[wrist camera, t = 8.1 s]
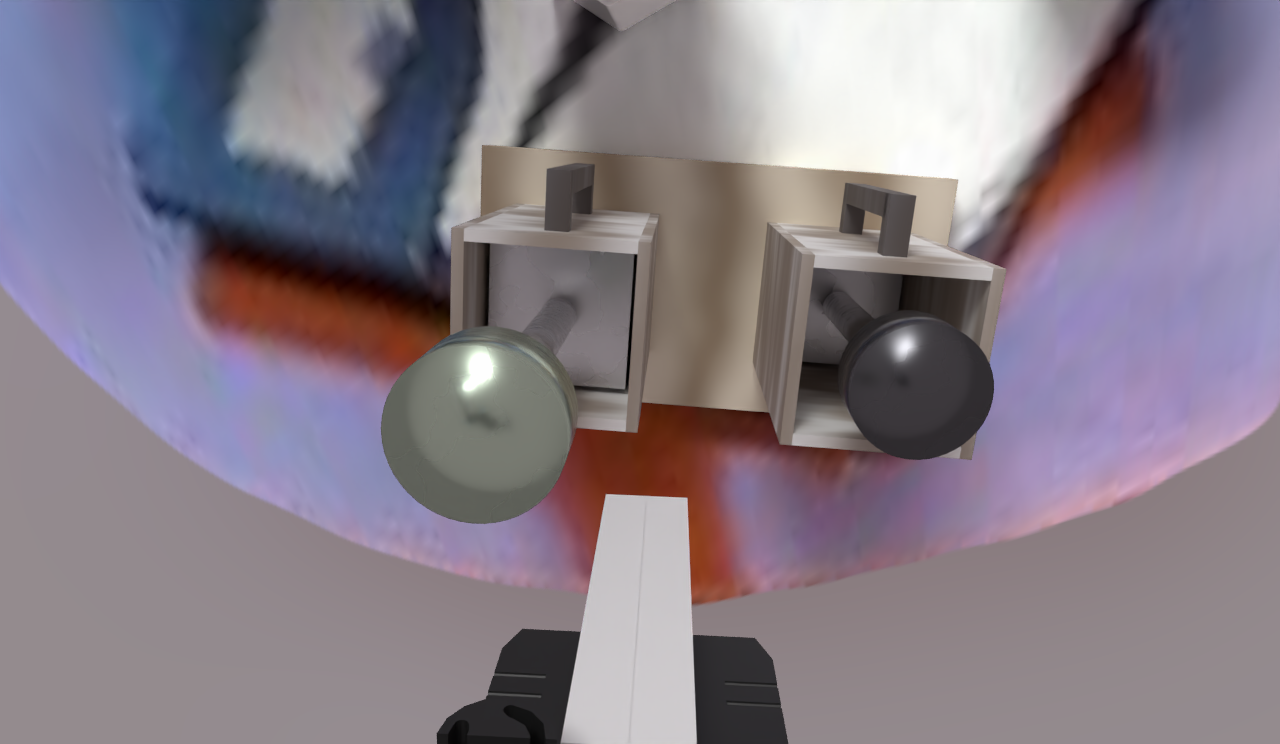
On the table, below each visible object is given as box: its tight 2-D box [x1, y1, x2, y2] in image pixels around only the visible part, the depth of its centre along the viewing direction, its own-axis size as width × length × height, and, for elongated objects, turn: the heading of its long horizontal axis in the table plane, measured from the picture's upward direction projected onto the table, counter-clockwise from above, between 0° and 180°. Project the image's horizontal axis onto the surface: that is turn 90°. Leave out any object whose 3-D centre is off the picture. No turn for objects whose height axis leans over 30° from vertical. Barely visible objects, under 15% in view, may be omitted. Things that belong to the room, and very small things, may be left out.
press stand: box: [450, 145, 1006, 460], centre depth 42 cm, size 26×14×16 cm, turn 86°
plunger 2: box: [802, 268, 994, 460], centre depth 38 cm, size 6×6×17 cm
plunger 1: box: [381, 243, 635, 524], centre depth 31 cm, size 6×6×17 cm
